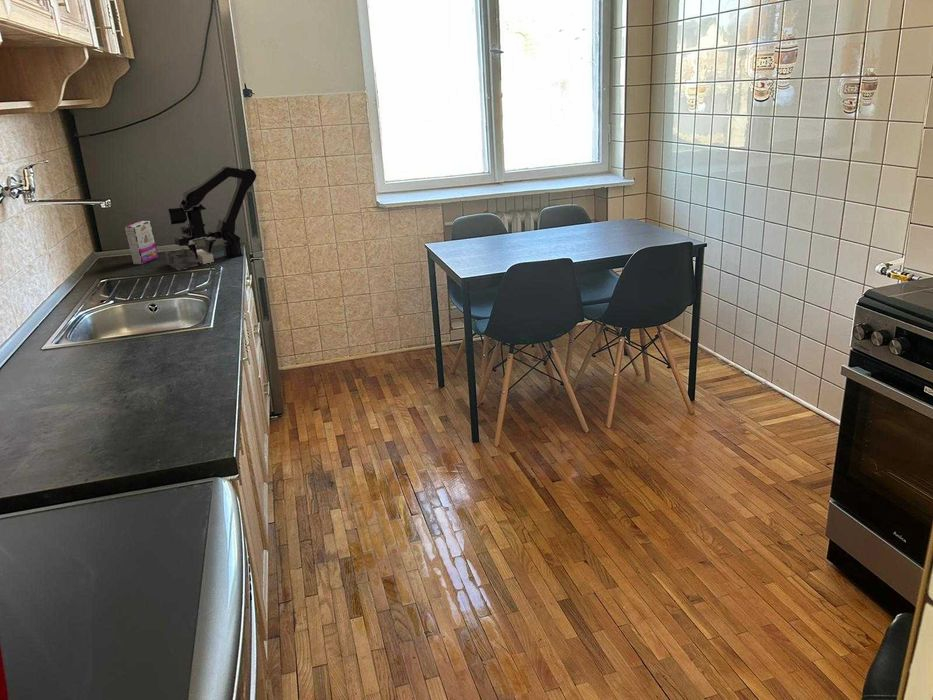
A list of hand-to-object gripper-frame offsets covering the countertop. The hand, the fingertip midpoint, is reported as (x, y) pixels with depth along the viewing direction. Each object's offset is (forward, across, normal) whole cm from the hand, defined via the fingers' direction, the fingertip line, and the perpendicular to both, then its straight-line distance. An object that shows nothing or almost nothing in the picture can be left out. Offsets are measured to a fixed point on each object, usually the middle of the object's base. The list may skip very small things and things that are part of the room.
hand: (202, 257), depth 302 cm
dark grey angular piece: (+2, +9, 0) cm, 9 cm away
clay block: (+2, 0, 0) cm, 2 cm away
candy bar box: (+2, +17, -20) cm, 26 cm away
